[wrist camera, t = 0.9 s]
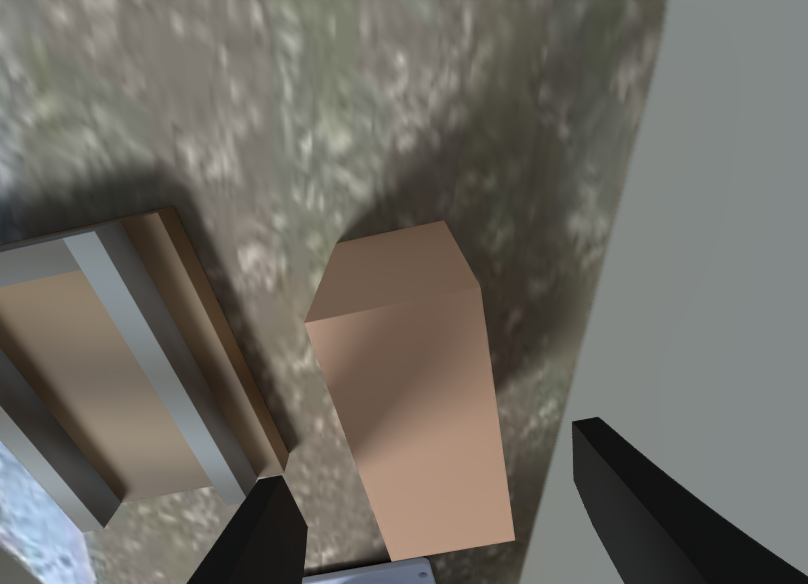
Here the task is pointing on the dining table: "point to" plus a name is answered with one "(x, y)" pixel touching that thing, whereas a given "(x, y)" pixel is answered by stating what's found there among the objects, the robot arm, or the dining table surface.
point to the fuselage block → (414, 388)
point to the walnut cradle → (125, 371)
